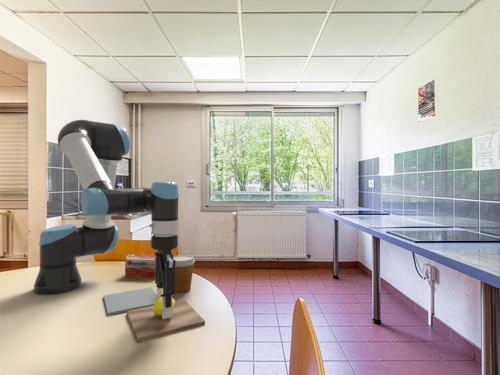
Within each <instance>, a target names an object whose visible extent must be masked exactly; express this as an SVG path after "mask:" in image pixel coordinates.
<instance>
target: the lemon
mask: <svg viewBox="0 0 500 375" xmlns="http://www.w3.org/2000/svg"><path fill="white" fill-rule="evenodd" d="M175 301H176V300H175V299H174V298H173V297H172V310H173V309H174V306H175ZM153 312H154V313H155V314H157V315H158V316H162V297H160V298H159V299H157V300H156V301H155V303H154V306H153Z"/></svg>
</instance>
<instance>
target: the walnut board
mask: <svg viewBox="0 0 500 375" xmlns="http://www.w3.org/2000/svg"><path fill="white" fill-rule="evenodd" d="M126 316H127V319H128V321H129V324H130V326H131V329H132V331H133V333H134V336H135V340H136V342H137V343H140V342H143V341H144V342H145V341H147V340H151V339H155V338H160V337H163V336H167V335H170V334H174V333H179V332H182V331H185V330H191V329H193V328H197V327H200V326H204V325H206V320H205V319H204V318H203V317H202V316H201V315H200V314H199V313H198V312H197V311H196V310H195V309H194V307H192V306H191V305H190V303H189V302H188V301H186V299H180V300H175V306H174V309H173V310H172V317H170V318H166V319H162V316H158V315H157V314H155V313H154V312H153V306H150V307H145V308H140V309H135V310H130V311H127V312H126Z"/></svg>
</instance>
